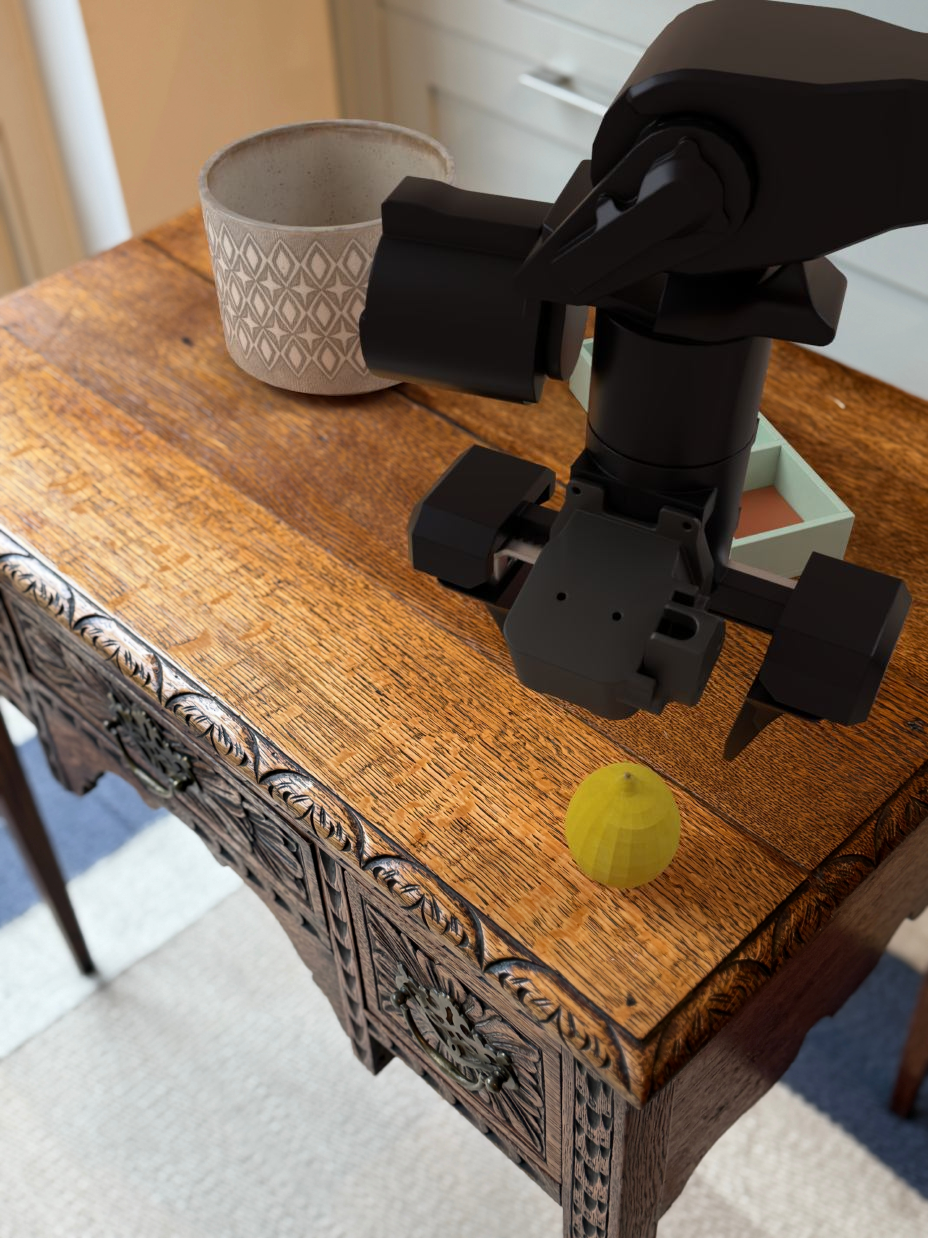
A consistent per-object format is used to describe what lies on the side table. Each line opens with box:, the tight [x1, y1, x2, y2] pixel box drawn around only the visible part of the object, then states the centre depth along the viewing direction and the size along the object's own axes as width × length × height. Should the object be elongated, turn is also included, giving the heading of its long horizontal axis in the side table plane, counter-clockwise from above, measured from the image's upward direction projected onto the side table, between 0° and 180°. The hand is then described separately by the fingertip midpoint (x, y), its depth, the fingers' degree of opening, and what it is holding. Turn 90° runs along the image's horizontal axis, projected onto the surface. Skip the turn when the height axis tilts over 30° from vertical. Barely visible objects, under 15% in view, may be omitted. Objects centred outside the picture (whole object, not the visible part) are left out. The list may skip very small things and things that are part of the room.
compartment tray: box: [568, 337, 856, 579], centre depth 82 cm, size 25×9×4 cm, turn 19°
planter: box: [197, 118, 458, 397], centre depth 90 cm, size 19×19×14 cm
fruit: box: [564, 761, 682, 890], centre depth 57 cm, size 6×6×8 cm
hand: (629, 714), depth 51 cm, fingers open, 9 cm apart
